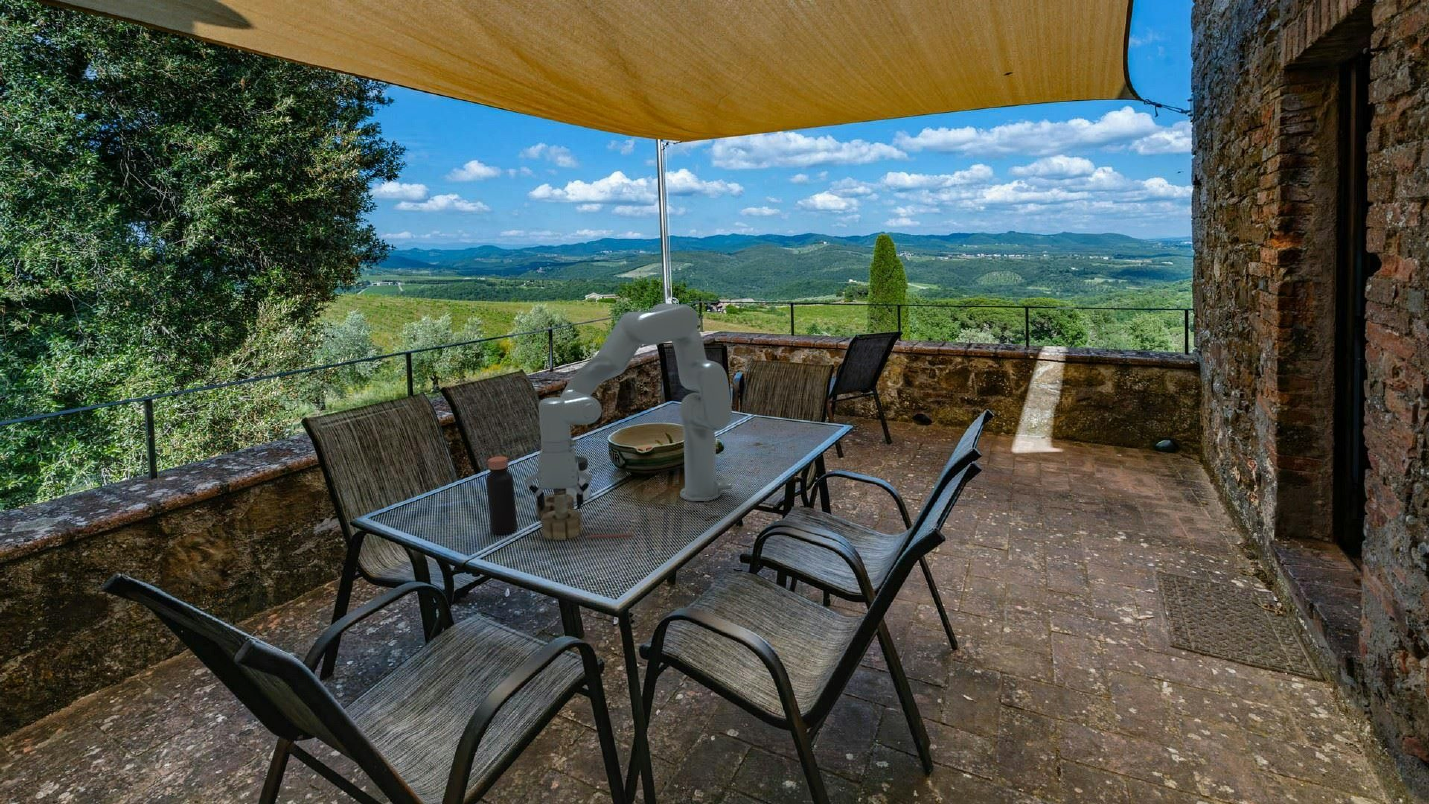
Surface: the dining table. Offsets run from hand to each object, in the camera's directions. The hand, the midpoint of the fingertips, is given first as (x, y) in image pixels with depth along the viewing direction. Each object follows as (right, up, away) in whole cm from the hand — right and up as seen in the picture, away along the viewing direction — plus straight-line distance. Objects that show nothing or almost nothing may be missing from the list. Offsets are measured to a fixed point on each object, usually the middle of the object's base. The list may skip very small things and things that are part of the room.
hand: (560, 508), depth 172 cm
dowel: (0, -7, +1) cm, 7 cm away
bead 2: (0, -7, +1) cm, 7 cm away
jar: (-2, -1, +27) cm, 27 cm away
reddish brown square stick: (+13, -7, -2) cm, 15 cm away
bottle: (-16, -7, +3) cm, 18 cm away
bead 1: (-5, -4, +14) cm, 15 cm away
